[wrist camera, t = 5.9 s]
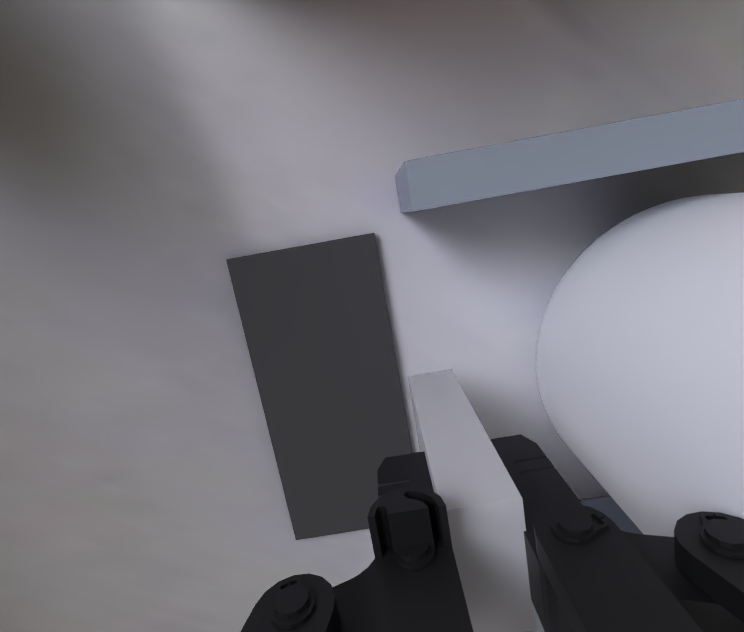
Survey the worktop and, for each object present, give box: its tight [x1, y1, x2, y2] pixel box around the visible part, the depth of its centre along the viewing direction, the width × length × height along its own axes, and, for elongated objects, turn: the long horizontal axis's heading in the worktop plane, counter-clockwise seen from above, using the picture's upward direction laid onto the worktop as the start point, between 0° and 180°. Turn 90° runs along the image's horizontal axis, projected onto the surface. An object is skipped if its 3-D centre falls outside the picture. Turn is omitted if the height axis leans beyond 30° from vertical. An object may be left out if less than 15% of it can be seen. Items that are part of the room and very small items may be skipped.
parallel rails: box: [395, 99, 744, 632], centre depth 14 cm, size 14×14×4 cm
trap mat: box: [227, 233, 412, 540], centre depth 16 cm, size 5×11×1 cm, turn 10°
